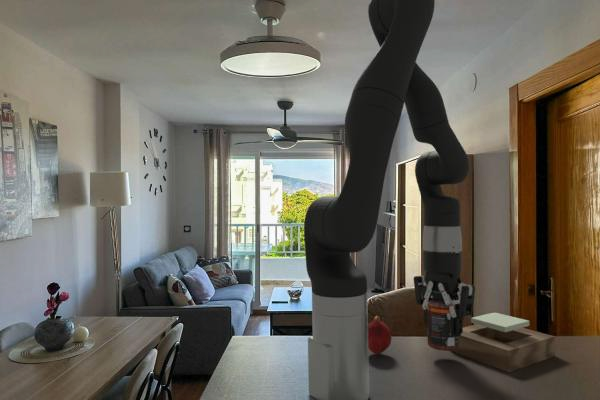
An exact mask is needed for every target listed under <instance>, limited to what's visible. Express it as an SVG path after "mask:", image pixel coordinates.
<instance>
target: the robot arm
mask: <svg viewBox="0 0 600 400" xmlns="http://www.w3.org/2000/svg"><path fill="white" fill-rule="evenodd" d="M435 1H436V0H370V1H369V4H368V8H367V13H368V20H369V23H370V26H371V30H372V32H373V34H374V37H375V39H376V41H377V44H378V46H379V49H378V50H377V52H376V53H375V55H374V56H373V58H372V59H371V60H370V62H369V63H368V64H367V65H366V67H365V69H364V70H362V71H363V72H361V74H360V76H359V77H358V79H357V81H356V83H355V85H354V87H353V89H352V93H351V97H350V100H349V103H348V107H347V108H346V109H347V110H346V113H345V117H344V132H345V137H346V142H347V147H348V153H349V161H348V162H349V163H348V169H347V172H346V175H345V178H344V183H343V186H342V188H341V191H340V192H339V195H324V196H320V197H318V198H316V199H314V200H313V201H312V202H311V203H310V204H309V206H308V208H307V210H306V213H305V216H304V222H303V224H304V225H303V235H304V236H303V240H304V252H305V263H306V264H305V267H306V272H307V275H308V278H309V280H310V283H311V319H312V320H311V322H312V323H311V324H312V327H311V328H312V336H309V337H308V338H307V358H308V359H307V360H308V362H307V363H308V364H307V365H308V366H307V367H308V370H307V371H308V395H310V397H312V398H314V399H315V400H368V399H369V398H370V368H369V367H370V365H369V364H370V363H369V362H370V361H369V359H370V357H369V349H368V324H369V321H368V320H369V319H368V317H369V316H368V314H369V313H368V311H369V310H368V309H369V308H368V307H369V305H368V280H367V276H366V274H365V273H364V272H363V271H362V270H360V268H359V267H358V266H357V265H356V263H354V261H353V258H352V256H351V253H353V254H354V253H359V252H361V251H362V250H364V249H366V248H367V247H368V245H369V244H370V242H371V241H372V239H373V238H374V235H375V232H376V228H377V226H378V220H379V215H380V214H379V213H380V208H381V201H382V194H383V188H384V183H385V177H386V173H387V168H388V163H389V161H390V160H389V159H390V156H391V152H392V148H393V143H394V140H395V137H396V133H397V130H398V127H399V124H400V120H401V116H402V112H403V109H404V106H405V109H406V112H407V116H408V120H409V124H410V128H411V131H412V134H413V136H414V139H415V141H417V142H418V143H422V144H428V145H431V146H432V147H433V148H434V150H433V151H426V152H423V153H421V154H420V155H419V157H418V158H417V160H416V163H415V166H414V175H415V179H416V180H415V181H416V183H417V186H418V190H419V194H420V198H421V202H422V204H423V225H424V226H423V232H422V233H423V234H422V269H423V271H424V272H425V275H415V276H413V285H414V295H415V302H416V303H415V304H417V305H418V306H419V305H420V307H422V309H423V321H424V326H425V328H427V304H428V302H429V301H430V300H432V299H433V297H432V291H433V290H434V291H439V292H441V293H442V296H443V299H444V301H445V304H446V306H448V307H449V310H450V313H451V316H452V317H451V336H454V337H457V336H460V335H461V334H462V332H463V327H464V324H463V323H464V321H463V319H464V317H467V316H472V315H473V311H474V310H473V309H474V301H475V294H476V293H475V292H476V286H475V285H474V284H467V283H463V281H462V279H461V273H462V272H463V236H462V231H461V230H462V229H461V204H460V200H459V199H458V198H456V197H453V196H449V195H445V193H444V191H443V188H442V186H443V185H457V184H460V183H462V182H464V181H465V180H466V179H467V178H468V175H469V173H470V162H469V158H468V155H467V152H466V151H465V149H464V146H463V145H462V143H461V142H460V140H459V139H458V137H457V135H456V134H455V132H454V130H453V128H452V127H451V125H450V122H449V118H448V114H447V111H446V107H445V103H444V99H443V97H442V93H441V92H440V90H439V88H438V86H437V85H436V83H435V82H434V81H433V80H432V79H431V78H430V76H429V75H427V73H426V72H425V71H424V70H423V69H422V68H421V67H420V66H419V65H418V63H417V58H418V56H419V53H420V51H421V48H422V46H423V42H424V41H425V38H426V35H427V32H428V31H429V28H430V25H431V22H432V20H433V17H434V12H435V11H434V10H435ZM441 185H442V186H441ZM451 299H453V300H454V301H452V300H451ZM455 305H456V308H455ZM456 309H457V311H456Z"/></svg>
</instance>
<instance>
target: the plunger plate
mask: <svg viewBox="0 0 600 400" xmlns="http://www.w3.org/2000/svg"><path fill="white" fill-rule="evenodd" d="M470 323H471V324H473V325H476V324H478V325H481V326H485V327H488V328H492V329H495V330H499V331H502V332H508V331H512V330H516V329H519V328H526V327H529V326H530V320H528V319H524V318H519V317H514V316H511V315H507V314H502V313H499V312H490V313H486V314H482V315H478V316H473V317H471V318H470Z"/></svg>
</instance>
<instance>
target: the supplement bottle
mask: <svg viewBox="0 0 600 400" xmlns="http://www.w3.org/2000/svg"><path fill="white" fill-rule="evenodd" d="M432 297H433V299H432V300H430V301H429V302H428V304H427V327H426V328H427V329H426V331H427V332H426V333H427V335H426V336H427V346H429V347H430V348H432V349H434V350H439V351H445V352H453V351H452V350H455V349H457V348H458V336H457V337H454V336H451V317H452V316H451V313H450V310H449V307H448V306H446V304H445V301H444V299H443V296H442V293H441V292H439V291H434V290H433V291H432ZM451 300H452V301H454V298H453V299H451ZM455 308H456V305H455ZM456 311H457V309H456Z"/></svg>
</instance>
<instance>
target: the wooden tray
mask: <svg viewBox="0 0 600 400" xmlns="http://www.w3.org/2000/svg"><path fill="white" fill-rule="evenodd" d="M451 352H454V353H455V354H459V355H461V356H463V357H467V358H470V359H472V360H475V361H477V362H481V363H482V364H483V363H484V364H486V365H488V366H492V367H494V368H497V369H499V370H502V371H505V372H507V373H511V372H514V371H517V370H520V369H523V368H525V367H528V366H531V365H535V364H536V363H537V364H538V363H539V362H543V361H545V360H548V359H552V358H554V357H556V336H554V335H551V334H547V333H543V332H540V331H535V330H532V329H528V328H526V327H523V328H519V329H516V330H512V331H508V332H502V331H499V330H495V329H492V328H488V327H485V326H481V325H478V324H473V325H468V326H465V327H464V326H463V332H462V334H461V335H460V336H458V348H457V349H455V350H452V351H451Z"/></svg>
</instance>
